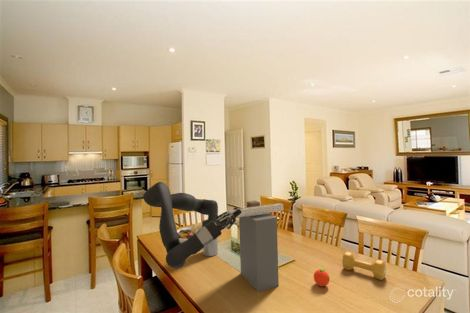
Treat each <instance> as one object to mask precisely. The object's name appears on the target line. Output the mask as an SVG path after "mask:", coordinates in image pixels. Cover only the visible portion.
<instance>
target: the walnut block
mask: <svg viewBox="0 0 470 313" xmlns="http://www.w3.org/2000/svg"><path fill="white" fill-rule="evenodd" d="M256 206H261V202H260V201H258V200H248V201H246V208H248V207H256Z"/></svg>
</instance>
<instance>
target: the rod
mask: <svg viewBox="0 0 470 313" xmlns="http://www.w3.org/2000/svg"><path fill="white" fill-rule="evenodd" d="M233 209H234V208H233ZM238 209H240V210H241V212H242V213H241V214H240V215H238V216H237V217H236V218H239V217H243V216H250V215H256V214H263V213H268V214H270V213H275V212H283V211H284V210H285V209H284V204H283V203H280V202H278V203H272V204H265V205H260V206H256V207H248V208H247V207H243V208H237V209H234V210H232V209H228V212H229V216H230V215H231V214H233V213H234V212H235V211H236V210H238ZM230 218H231V217H230Z"/></svg>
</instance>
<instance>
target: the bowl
mask: <svg viewBox="0 0 470 313" xmlns="http://www.w3.org/2000/svg"><path fill="white" fill-rule="evenodd" d="M201 228H202V225H189V226H185V227H181V228H178V229H177V233H178V236H179V241H180V243H182V242H184V241H186V240H188V239H189V238H190V237H191V236H192V235H194V234H195V233H196V232H197V231H198V230H199V229H201Z"/></svg>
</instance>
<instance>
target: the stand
mask: <svg viewBox="0 0 470 313" xmlns="http://www.w3.org/2000/svg"><path fill="white" fill-rule="evenodd" d="M238 221H239V222H238V224H239V228H238V229H239V251H240V252H239V255H240V257H239V258H240V274H241V275H242V277H243V278H244V279H245V280H246V281H247V282H248V283H249V285H250V286H251V287H252V288H254V290H255V291H256V292H257V293H260V292H263V291H265V290H268V289H269V290H270V289H272V288H276V287H279V282H280V281H279V255H278V254H279V250H278V248H279V247H278V218H277V216H274V215H273V214H270V213H263V214H256V215H250V216H243V217H238Z"/></svg>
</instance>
